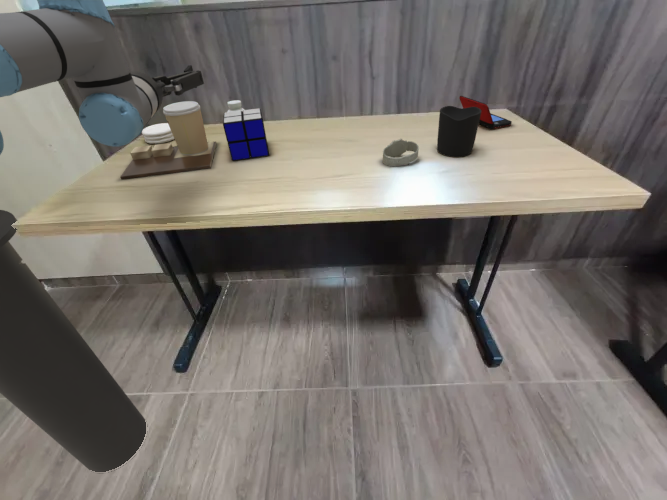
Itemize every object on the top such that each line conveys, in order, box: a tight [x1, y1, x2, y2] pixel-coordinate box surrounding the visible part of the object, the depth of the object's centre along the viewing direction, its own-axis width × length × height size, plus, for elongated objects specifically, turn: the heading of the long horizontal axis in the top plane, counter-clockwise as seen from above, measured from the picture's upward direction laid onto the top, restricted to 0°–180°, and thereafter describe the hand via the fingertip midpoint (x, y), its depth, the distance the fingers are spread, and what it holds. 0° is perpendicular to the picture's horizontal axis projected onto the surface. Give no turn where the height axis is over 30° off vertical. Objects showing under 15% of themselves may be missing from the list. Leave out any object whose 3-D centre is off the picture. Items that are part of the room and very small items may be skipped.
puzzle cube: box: [222, 107, 270, 162], centre depth 95 cm, size 10×10×10 cm
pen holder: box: [436, 105, 481, 158], centre depth 87 cm, size 9×9×10 cm
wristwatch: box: [382, 138, 420, 167], centre depth 85 cm, size 9×6×5 cm
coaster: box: [141, 122, 175, 145], centre depth 110 cm, size 10×10×4 cm
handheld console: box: [458, 95, 513, 130], centre depth 103 cm, size 12×11×7 cm
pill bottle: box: [226, 99, 245, 112], centre depth 107 cm, size 5×5×10 cm
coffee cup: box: [162, 100, 208, 155], centre depth 95 cm, size 9×9×12 cm
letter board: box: [120, 141, 217, 180], centre depth 95 cm, size 22×18×3 cm
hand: (160, 74), depth 79 cm, fingers open, 13 cm apart
